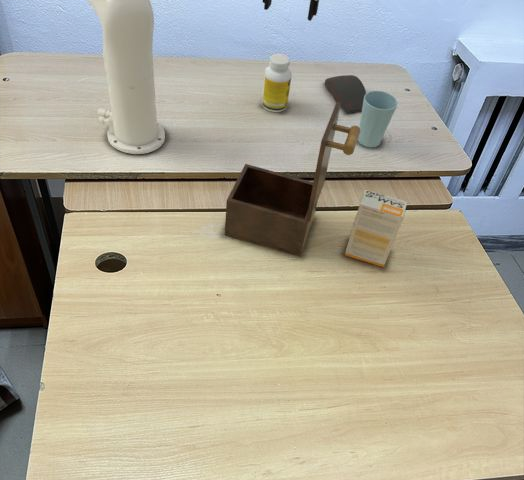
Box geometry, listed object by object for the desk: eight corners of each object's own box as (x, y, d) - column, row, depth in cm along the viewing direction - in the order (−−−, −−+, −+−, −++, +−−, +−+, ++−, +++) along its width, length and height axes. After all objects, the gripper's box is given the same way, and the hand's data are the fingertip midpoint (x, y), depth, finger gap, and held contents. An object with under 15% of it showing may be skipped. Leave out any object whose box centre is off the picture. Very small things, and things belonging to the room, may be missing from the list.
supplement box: (387, 252, 108) (409, 201, 97) (383, 268, 105) (404, 217, 94) (348, 239, 108) (365, 187, 98) (343, 255, 106) (359, 203, 95)
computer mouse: (346, 81, 143) (350, 66, 140) (371, 110, 136) (376, 95, 133) (320, 85, 140) (323, 70, 137) (344, 114, 134) (347, 99, 130)
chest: (224, 235, 106) (226, 199, 98) (242, 198, 112) (245, 163, 105) (300, 256, 104) (307, 222, 97) (313, 219, 111) (321, 184, 104)
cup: (369, 127, 132) (381, 86, 123) (390, 144, 129) (404, 104, 120) (346, 136, 129) (357, 95, 120) (368, 154, 126) (380, 113, 117)
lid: (321, 139, 83) (353, 147, 83) (336, 101, 90) (366, 108, 89) (306, 220, 97) (333, 227, 96) (320, 182, 103) (346, 188, 103)
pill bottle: (284, 115, 131) (291, 68, 121) (258, 110, 131) (263, 62, 121) (289, 101, 135) (296, 54, 125) (264, 96, 135) (269, 49, 125)
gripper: (350, -83, 101) (332, 14, 115) (263, -103, 103) (255, -4, 117) (341, -70, 97) (323, 30, 111) (251, -90, 99) (245, 10, 113)
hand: (289, 12), depth 114 cm, fingers open, 9 cm apart
